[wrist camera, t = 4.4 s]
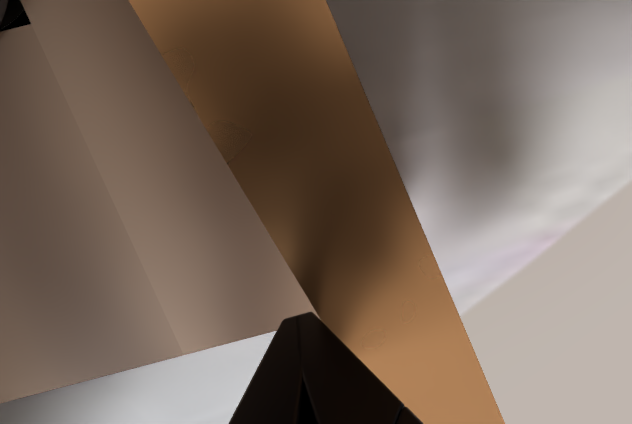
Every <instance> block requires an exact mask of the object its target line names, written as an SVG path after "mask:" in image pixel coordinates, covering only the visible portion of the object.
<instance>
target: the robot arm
mask: <svg viewBox="0 0 632 424" xmlns="http://www.w3.org/2000/svg"><path fill="white" fill-rule="evenodd" d="M229 424H424V423H423V422H422V421H421V420H420V419H419V418H418V417H417V416H416V415H415V414H414V413H413V412H412V411H411V410H410V409H409V408H408V407H405V405H404V404H403V403H402V402H401V400H400V399H399V398H398V397H397V396H396V395H395V394H394V393H393V392H392V391H391V390H390V389H389V388H388V387H387V386H386V385H385V384H384V383H383V382H382V381H381V380H380V379H379V378H378V377H377V376H376V375H375V374H374V373H373V372H372V371H371V370H370V369H369V368H368V367H367V366H366V365H365V364H364V363H363V362H362V361H361V360H360V359H359V358H358V357H357V356H356V355H355V354H354V353H353V352H352V351H351V350H350V349H349V348H348V347H347V346H346V345H345V344H344V343H343V342H342V341H341V340H340V339H339V338H338V337H337V336H336V335H335V334H334V333H333V332H332V331H331V330H330V329H329V328H328V327H327V326H326V325H325V324H324V323H323V322H322V321H321V320H320V319H319V318H318V317H317V316H316V315H315V314H314V313H313V312H307V313H303V314H300V315H296V316H292V317H289V318H285V319H284V320H283V321H282V322H281V324H280V326H279V328H278V330H277V332H276V333H275V335H274V337H273V339H272V341H271V343H270V345H269V347H268V349H267V351H266V353H265V355H264V357H263V358H262V360H261V362H260V364H259V366H258V368H257V370H256V372H255V374H254V376H253V378H252V380H251V382H250V383H249V385H248V387H247V389H246V391H245V393H244V395H243V397H242V399H241V401H240V403H239V405H238V407H237V408H236V410H235V412H234V414H233V416H232V418H231V420H230V422H229Z"/></svg>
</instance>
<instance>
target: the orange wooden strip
mask: <svg viewBox="0 0 632 424" xmlns="http://www.w3.org/2000/svg"><path fill="white" fill-rule="evenodd" d="M129 2H130V4H131V5H132V7H133V9H134V10H135V12H136V14H137V15H138V17H139V19H140V20H141V22H142V24H143V25H144V27H145V29H146V30H147V32H148V34H149V35H150V37H151V39H152V40H153V42H154V44H155V45H156V47H157V49H158V50H159V52H160V54H161V55H162V57H163V59H164V60H165V62H166V63H167V65H168V67H169V68H170V70H171V72H172V73H173V75H174V77H175V78H176V80H177V82H178V83H179V85H180V87H181V88H182V90H183V92H184V93H185V95H186V97H187V98H188V100H189V102H190V103H191V105H192V107H193V108H194V110H195V112H196V113H197V115H198V117H199V118H200V120H201V122H202V123H203V125H204V127H205V128H206V130H207V132H208V133H209V135H210V137H211V138H212V140H213V142H214V143H215V145H216V147H217V148H218V150H219V152H220V153H221V155H222V157H223V158H224V160H225V162H226V163H227V165H228V166H229V168H230V170H231V171H232V173H233V175H234V176H235V178H236V180H237V181H238V183H239V185H240V186H241V188H242V190H243V191H244V193H245V195H246V196H247V198H248V200H249V201H250V203H251V205H252V206H253V208H254V210H255V211H256V213H257V215H258V216H259V218H260V220H261V221H262V223H263V225H264V226H265V228H266V230H267V231H268V233H269V235H270V236H271V238H272V240H273V241H274V243H275V245H276V246H277V248H278V250H279V251H280V253H281V255H282V256H283V258H284V260H285V261H286V263H287V265H288V266H289V268H290V270H291V271H292V273H293V274H294V276H295V278H296V279H297V281H298V283H299V284H300V286H301V288H302V289H303V291H304V293H305V294H306V296H307V298H308V299H309V301H310V303H311V304H312V306H313V308H314V309H315V311H316V313H317V314H318V316H319V318H320V319H321V321H322V322H323V323H324V324H325V325H326V326H327V327H328V328H329V329H330V330H331V331H332V332H333V333H334V334H335V335H336V336H337V337H338V338H339V339H340V340H341V341H342V342H343V343H344V344H345V345H346V346H347V347H348V348H349V349H350V350H351V351H352V352H353V353H354V354H355V355H356V356H357V357H358V358H359V359H360V360H361V361H362V362H363V363H364V364H365V365H366V366H367V367H368V368H369V369H370V370H371V371H372V372H373V373H374V374H375V375H376V376H377V377H378V378H379V379H380V380H381V381H382V382H383V383H384V384H385V385H386V386H387V387H388V388H389V389H390V390H391V391H392V392H393V393H394V394H395V395H396V396H397V397H398V398H399V399H400V400H401V402H402V403H403V404H404V405H405V407H408V408H409V409H410V410H411V411H412V412H413V413H414V414H415V415H416V416H417V417H418V418H419V419H420V420H421V421H422V422H423V423H424V424H505V423H504V420H503V418H502V416H501V413H500V411H499V409H498V406H497V404H496V402H495V399H494V397H493V394H492V392H491V389H490V387H489V385H488V382H487V380H486V378H485V375H484V373H483V371H482V368H481V366H480V364H479V361H478V359H477V356H476V354H475V352H474V349H473V347H472V345H471V342H470V340H469V338H468V335H467V333H466V330H465V328H464V326H463V323H462V322H461V319H460V316H459V314H458V312H457V309H456V307H455V304H454V302H453V300H452V297H451V295H450V293H449V290H448V288H447V286H446V283H445V281H444V278H443V276H442V274H441V271H440V269H439V267H438V264H437V262H436V260H435V257H434V255H433V252H432V250H431V248H430V245H429V243H428V241H427V238H426V236H425V234H424V231H423V229H422V226H421V224H420V222H419V219H418V217H417V215H416V212H415V210H414V208H413V205H412V203H411V200H410V198H409V196H408V193H407V191H406V189H405V186H404V184H403V182H402V179H401V177H400V174H399V172H398V170H397V167H396V165H395V163H394V160H393V158H392V156H391V153H390V151H389V148H388V146H387V144H386V141H385V139H384V137H383V134H382V132H381V130H380V127H379V125H378V123H377V120H376V118H375V115H374V113H373V111H372V108H371V106H370V104H369V101H368V99H367V97H366V94H365V92H364V89H363V87H362V85H361V82H360V80H359V78H358V75H357V73H356V71H355V68H354V66H353V63H352V61H351V59H350V56H349V54H348V52H347V49H346V47H345V45H344V42H343V40H342V37H341V35H340V33H339V30H338V28H337V26H336V23H335V21H334V19H333V16H332V14H331V11H330V9H329V7H328V4H327V2H326V0H129Z"/></svg>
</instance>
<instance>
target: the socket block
mask: <svg viewBox="0 0 632 424" xmlns="http://www.w3.org/2000/svg"><path fill="white" fill-rule="evenodd" d="M20 1H21V3H22V5H23V7H24V9H25V12H26V14H27V16H28V18H29V20H30V22H31V24H29V25H25V26H21V27H17V28H13V29H9V30H5V31H1V32H0V404H1V403H4V402H8V401H12V400H16V399H20V398H23V397H27V396H31V395H35V394H38V393H42V392H46V391H50V390H54V389H57V388H61V387H65V386H69V385H73V384H76V383H80V382H84V381H88V380H91V379H95V378H99V377H103V376H107V375H110V374H114V373H118V372H122V371H125V370H129V369H133V368H137V367H141V366H144V365H148V364H152V363H156V362H159V361H163V360H167V359H171V358H175V357H178V356H182V355H186V354H190V353H194V352H197V351H201V350H205V349H209V348H212V347H216V346H220V345H224V344H228V343H231V342H235V341H239V340H243V339H246V338H250V337H254V336H258V335H262V334H265V333H269V332H273V331H277V330H278V328H279V326H280V324H281V322H282V321H283V320H284V319H285V318H289V317H292V316H296V315H300V314H303V313H307V312H313V313H314V314H315V315H316V316H317V317H318V318H319V316H318V314H317V313H316V311H315V309H314V308H313V306H312V304H311V303H310V301H309V299H308V298H307V296H306V294H305V293H304V291H303V289H302V288H301V286H300V284H299V283H298V281H297V279H296V278H295V276H294V274H293V273H292V271H291V270H290V268H289V266H288V265H287V263H286V261H285V260H284V258H283V256H282V255H281V253H280V251H279V250H278V248H277V246H276V245H275V243H274V241H273V240H272V238H271V236H270V235H269V233H268V231H267V230H266V228H265V226H264V225H263V223H262V221H261V220H260V218H259V216H258V215H257V213H256V211H255V210H254V208H253V206H252V205H251V203H250V201H249V200H248V198H247V196H246V195H245V193H244V191H243V190H242V188H241V186H240V185H239V183H238V181H237V180H236V178H235V176H234V175H233V173H232V171H231V170H230V168H229V166H228V165H227V163H226V162H225V160H224V158H223V157H222V155H221V153H220V152H219V150H218V148H217V147H216V145H215V143H214V142H213V140H212V138H211V137H210V135H209V133H208V132H207V130H206V128H205V127H204V125H203V123H202V122H201V120H200V118H199V117H198V115H197V113H196V112H195V110H194V108H193V107H192V105H191V103H190V102H189V100H188V98H187V97H186V95H185V93H184V92H183V90H182V88H181V87H180V85H179V83H178V82H177V80H176V78H175V77H174V75H173V73H172V72H171V70H170V68H169V67H168V65H167V63H166V62H165V60H164V59H163V57H162V55H161V54H160V52H159V50H158V49H157V47H156V45H155V44H154V42H153V40H152V39H151V37H150V35H149V34H148V32H147V30H146V29H145V27H144V25H143V24H142V22H141V20H140V19H139V17H138V15H137V14H136V12H135V10H134V9H133V7H132V5H131V4H130V2H129V0H20ZM319 319H320V318H319Z"/></svg>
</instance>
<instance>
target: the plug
mask: <svg viewBox="0 0 632 424" xmlns="http://www.w3.org/2000/svg"><path fill="white" fill-rule="evenodd" d="M23 10H24V7H23V5H22V3H21V1H20V0H0V29H2V28H4V27H6V26H8V25H9V24H10V23H12V22H13V21H14V20H16V18H17V17H18V16H19V15H20V14H21V13H22V12H23Z"/></svg>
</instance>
